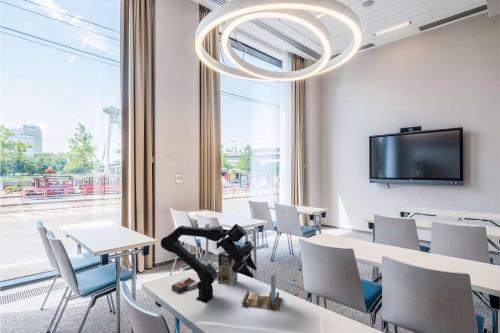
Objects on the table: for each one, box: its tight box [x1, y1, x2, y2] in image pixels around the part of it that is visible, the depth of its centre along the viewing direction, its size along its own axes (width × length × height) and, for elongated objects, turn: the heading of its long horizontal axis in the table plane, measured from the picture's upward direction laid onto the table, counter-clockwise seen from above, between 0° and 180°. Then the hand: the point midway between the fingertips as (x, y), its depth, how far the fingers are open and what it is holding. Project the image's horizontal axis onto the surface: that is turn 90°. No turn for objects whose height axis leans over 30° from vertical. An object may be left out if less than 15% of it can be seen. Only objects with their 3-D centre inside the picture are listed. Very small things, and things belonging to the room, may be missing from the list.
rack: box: [241, 290, 283, 312], centre depth 127 cm, size 17×12×3 cm
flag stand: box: [200, 223, 218, 272], centre depth 162 cm, size 13×13×30 cm
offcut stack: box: [246, 291, 260, 306], centre depth 128 cm, size 5×8×2 cm, turn 170°
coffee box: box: [217, 250, 238, 286], centre depth 149 cm, size 9×6×16 cm
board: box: [270, 269, 277, 306], centre depth 126 cm, size 2×6×14 cm, turn 170°
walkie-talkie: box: [171, 276, 200, 294], centre depth 146 cm, size 9×4×20 cm
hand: (254, 273), depth 127 cm, fingers open, 9 cm apart
